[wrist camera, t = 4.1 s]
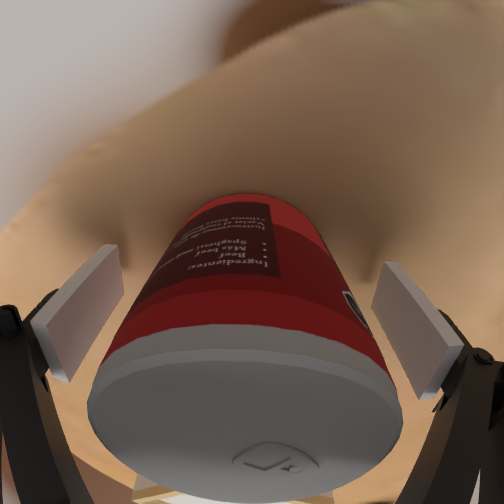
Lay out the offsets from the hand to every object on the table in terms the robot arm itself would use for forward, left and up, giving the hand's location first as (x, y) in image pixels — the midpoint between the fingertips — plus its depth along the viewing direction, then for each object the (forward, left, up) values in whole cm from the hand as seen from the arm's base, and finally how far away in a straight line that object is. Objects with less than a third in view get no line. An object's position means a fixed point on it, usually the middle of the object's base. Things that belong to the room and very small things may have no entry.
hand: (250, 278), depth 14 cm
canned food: (0, 0, -2) cm, 2 cm away
